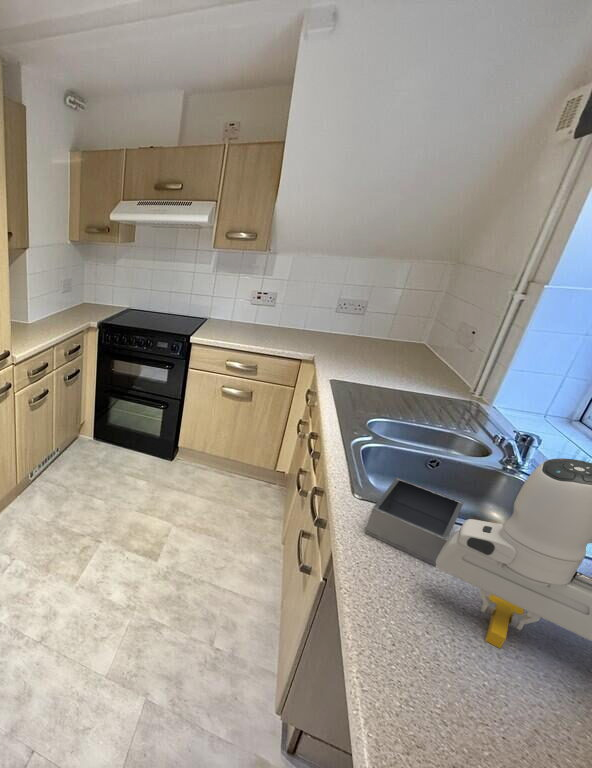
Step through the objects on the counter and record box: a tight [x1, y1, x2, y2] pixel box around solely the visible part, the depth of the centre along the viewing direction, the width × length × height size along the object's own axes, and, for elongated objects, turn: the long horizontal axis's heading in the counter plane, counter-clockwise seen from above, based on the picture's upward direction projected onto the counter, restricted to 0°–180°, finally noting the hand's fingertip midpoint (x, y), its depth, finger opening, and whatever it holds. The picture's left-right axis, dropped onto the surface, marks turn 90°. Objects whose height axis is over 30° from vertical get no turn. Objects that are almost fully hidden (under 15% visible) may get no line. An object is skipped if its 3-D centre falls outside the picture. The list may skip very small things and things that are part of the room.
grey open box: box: [364, 477, 465, 567], centre depth 92 cm, size 19×13×7 cm
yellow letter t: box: [485, 594, 525, 649], centre depth 71 cm, size 5×14×2 cm, turn 131°
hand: (500, 618), depth 70 cm, fingers closed
